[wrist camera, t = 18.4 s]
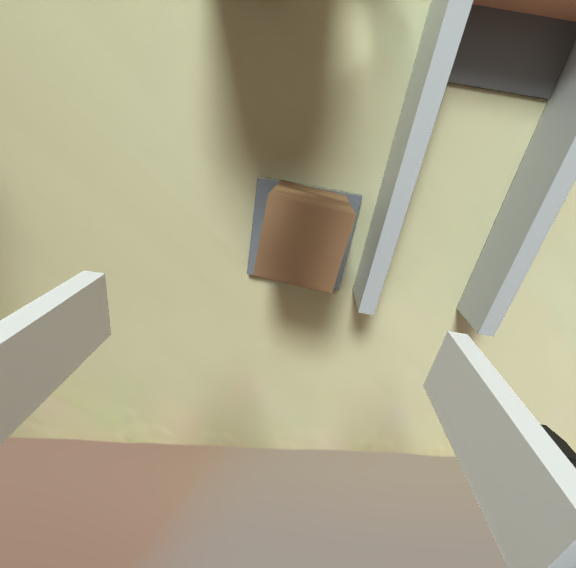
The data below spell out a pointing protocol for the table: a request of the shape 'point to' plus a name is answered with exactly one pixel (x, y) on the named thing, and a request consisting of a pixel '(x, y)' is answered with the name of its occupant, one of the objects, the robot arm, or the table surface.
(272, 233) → the block
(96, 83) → the table surface
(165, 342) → the table surface
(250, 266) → the coaster
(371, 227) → the channel
